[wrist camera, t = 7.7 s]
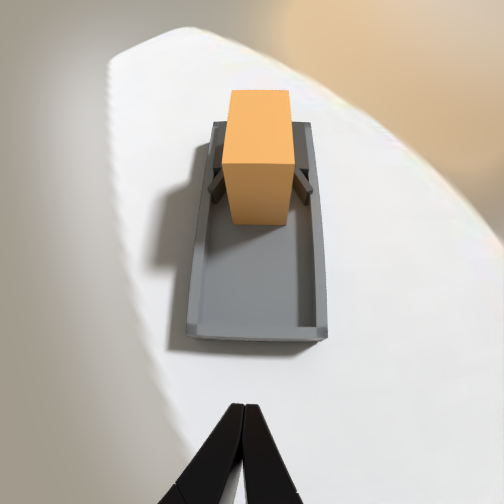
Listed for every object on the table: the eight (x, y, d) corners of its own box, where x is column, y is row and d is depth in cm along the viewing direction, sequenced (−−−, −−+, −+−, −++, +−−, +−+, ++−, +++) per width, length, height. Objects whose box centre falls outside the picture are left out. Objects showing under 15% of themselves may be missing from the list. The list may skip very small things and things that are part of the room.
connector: (286, 225, 25) (295, 164, 17) (233, 224, 25) (221, 163, 17) (283, 137, 29) (286, 75, 21) (240, 137, 29) (234, 75, 21)
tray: (320, 341, 22) (329, 336, 19) (193, 337, 22) (183, 332, 19) (307, 138, 30) (311, 117, 27) (216, 138, 30) (212, 116, 27)
